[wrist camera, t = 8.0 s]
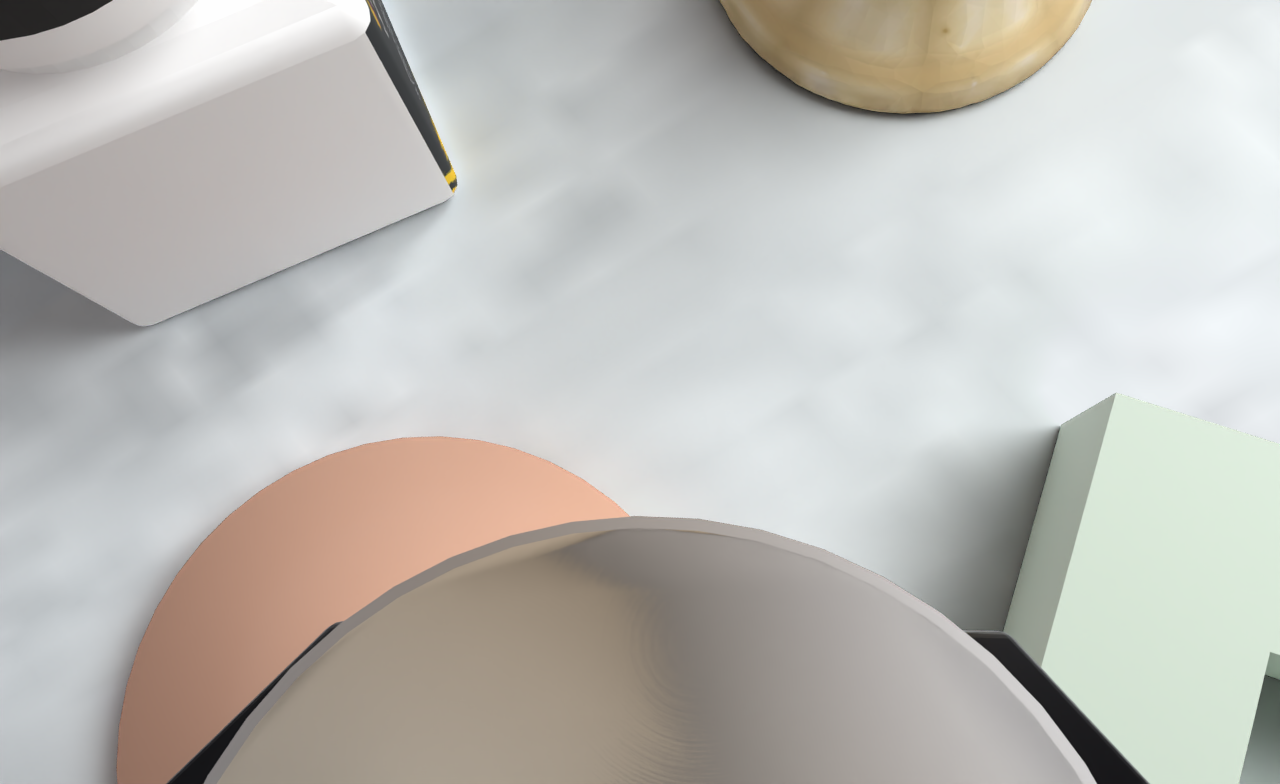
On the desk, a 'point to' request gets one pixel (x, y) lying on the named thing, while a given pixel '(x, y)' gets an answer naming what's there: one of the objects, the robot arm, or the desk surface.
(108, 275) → the medicine bottle
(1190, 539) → the socket block
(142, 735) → the terracotta coaster
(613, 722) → the beige cylinder
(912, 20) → the hand bell
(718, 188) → the desk surface
